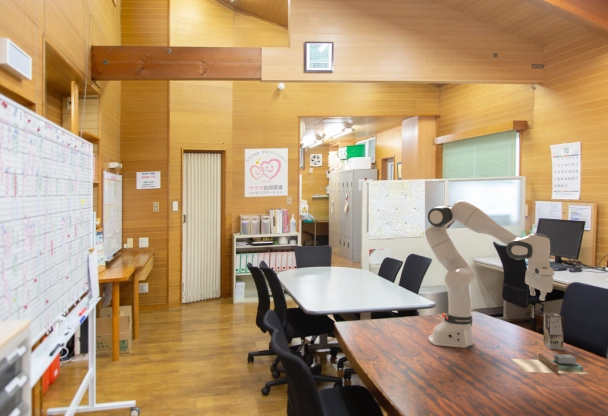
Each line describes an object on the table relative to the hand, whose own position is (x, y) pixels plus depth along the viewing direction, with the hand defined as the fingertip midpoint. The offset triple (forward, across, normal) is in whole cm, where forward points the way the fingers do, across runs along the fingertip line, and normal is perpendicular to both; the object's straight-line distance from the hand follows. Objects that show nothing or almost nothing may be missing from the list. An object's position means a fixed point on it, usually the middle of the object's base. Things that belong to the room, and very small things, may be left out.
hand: (537, 297), depth 200 cm
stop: (+27, +14, +7) cm, 31 cm away
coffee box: (+28, -15, +16) cm, 35 cm away
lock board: (+28, +14, 0) cm, 31 cm away
